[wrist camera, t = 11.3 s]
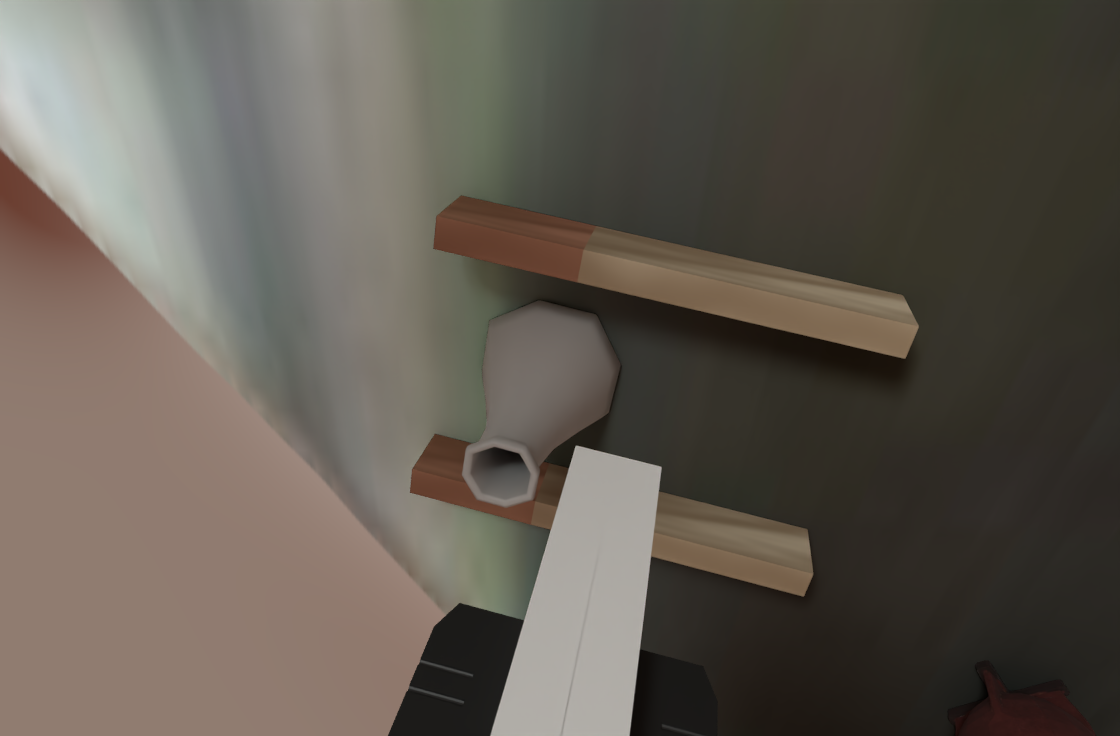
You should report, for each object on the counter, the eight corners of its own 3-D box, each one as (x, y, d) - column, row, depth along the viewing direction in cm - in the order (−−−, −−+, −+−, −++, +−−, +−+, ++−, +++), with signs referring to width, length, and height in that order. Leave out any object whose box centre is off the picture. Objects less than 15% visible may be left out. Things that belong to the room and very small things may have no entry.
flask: (628, 424, 41) (599, 550, 32) (495, 427, 43) (432, 546, 34) (613, 293, 38) (576, 392, 29) (470, 302, 40) (395, 397, 31)
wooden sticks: (461, 195, 37) (436, 216, 34) (902, 295, 35) (918, 326, 32) (432, 456, 44) (410, 492, 41) (798, 551, 42) (803, 596, 39)
